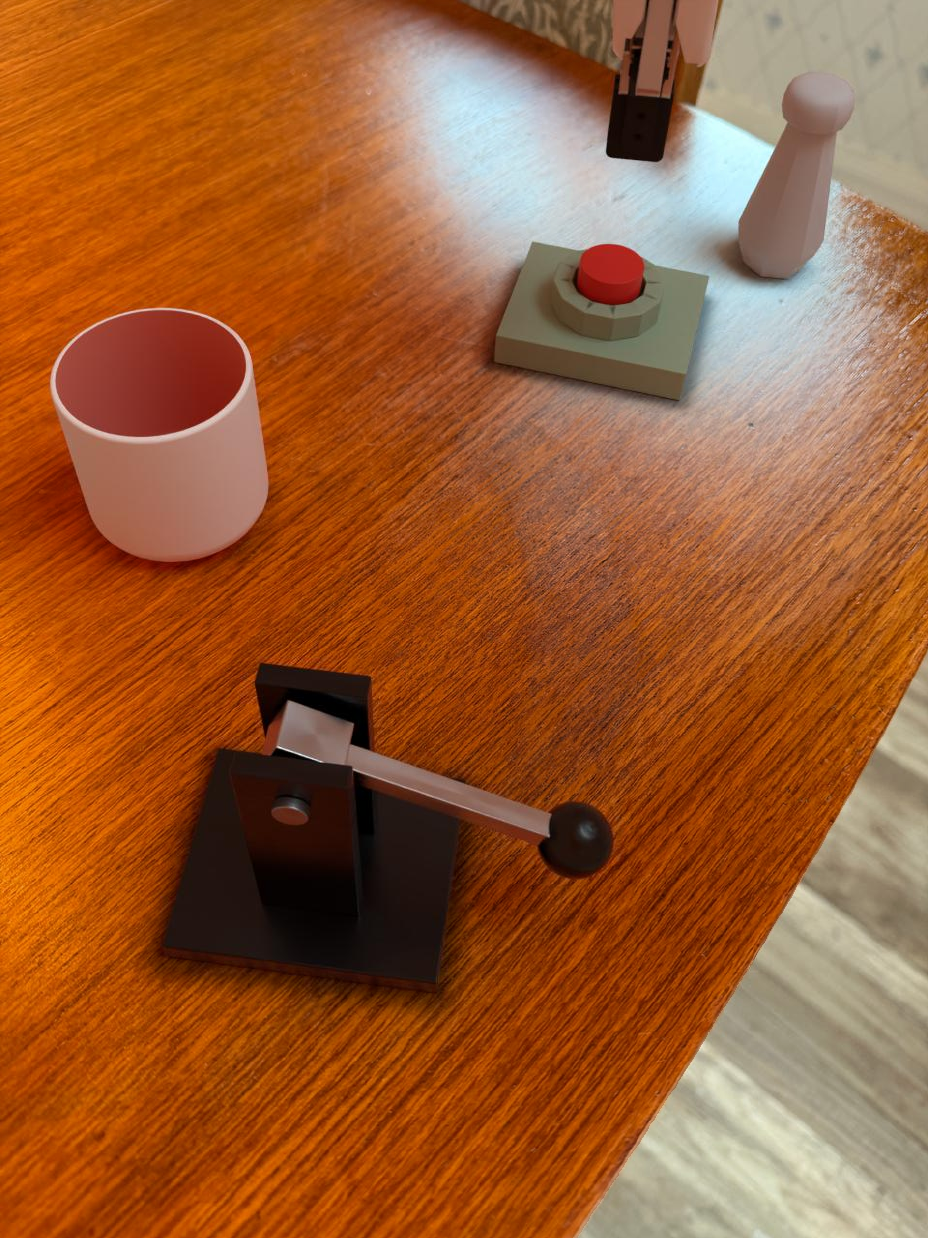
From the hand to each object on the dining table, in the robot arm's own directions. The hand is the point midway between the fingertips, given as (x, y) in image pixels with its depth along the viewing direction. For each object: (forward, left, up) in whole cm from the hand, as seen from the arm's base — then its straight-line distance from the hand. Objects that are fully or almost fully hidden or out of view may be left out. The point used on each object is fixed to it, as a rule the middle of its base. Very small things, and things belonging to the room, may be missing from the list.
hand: (634, 151), depth 67 cm
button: (0, -1, -10) cm, 10 cm away
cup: (+20, +21, -14) cm, 32 cm away
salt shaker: (-10, -12, -14) cm, 20 cm away
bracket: (+5, +40, -13) cm, 43 cm away
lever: (0, +40, -6) cm, 40 cm away
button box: (0, -1, -13) cm, 13 cm away
